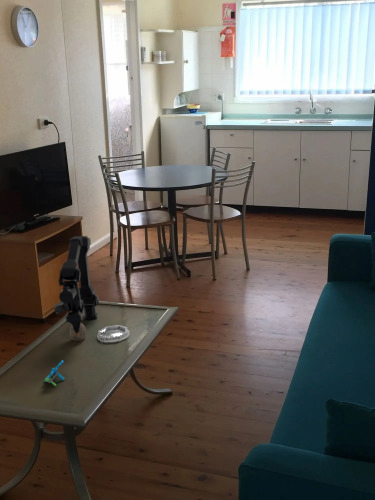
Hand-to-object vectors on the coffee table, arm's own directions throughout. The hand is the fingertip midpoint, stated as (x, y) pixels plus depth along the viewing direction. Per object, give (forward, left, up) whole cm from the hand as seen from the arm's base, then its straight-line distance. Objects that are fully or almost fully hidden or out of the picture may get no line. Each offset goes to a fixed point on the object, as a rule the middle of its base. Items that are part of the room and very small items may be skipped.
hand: (77, 328), depth 248 cm
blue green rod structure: (+35, -7, -5) cm, 36 cm away
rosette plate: (+1, +15, -5) cm, 16 cm away
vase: (0, 0, -5) cm, 5 cm away
